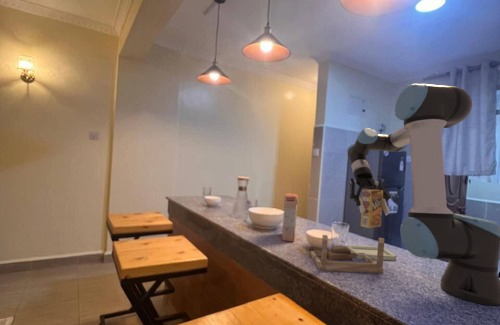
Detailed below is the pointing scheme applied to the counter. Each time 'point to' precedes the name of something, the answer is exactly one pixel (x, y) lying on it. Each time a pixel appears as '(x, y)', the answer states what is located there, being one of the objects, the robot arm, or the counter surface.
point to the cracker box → (289, 217)
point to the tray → (370, 252)
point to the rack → (346, 254)
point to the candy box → (372, 208)
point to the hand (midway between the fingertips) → (375, 212)
